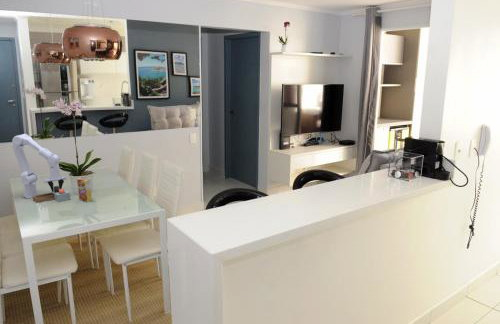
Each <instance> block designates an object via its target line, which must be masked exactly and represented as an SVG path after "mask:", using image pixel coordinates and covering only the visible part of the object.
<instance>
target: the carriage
mask: <svg viewBox="0 0 500 324" xmlns="http://www.w3.org/2000/svg"><path fill="white" fill-rule="evenodd" d="M53 188H54V192H52V191H50V193H51V195H54V193H57V192H59V185H55V186H54V185H53Z"/></svg>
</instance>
